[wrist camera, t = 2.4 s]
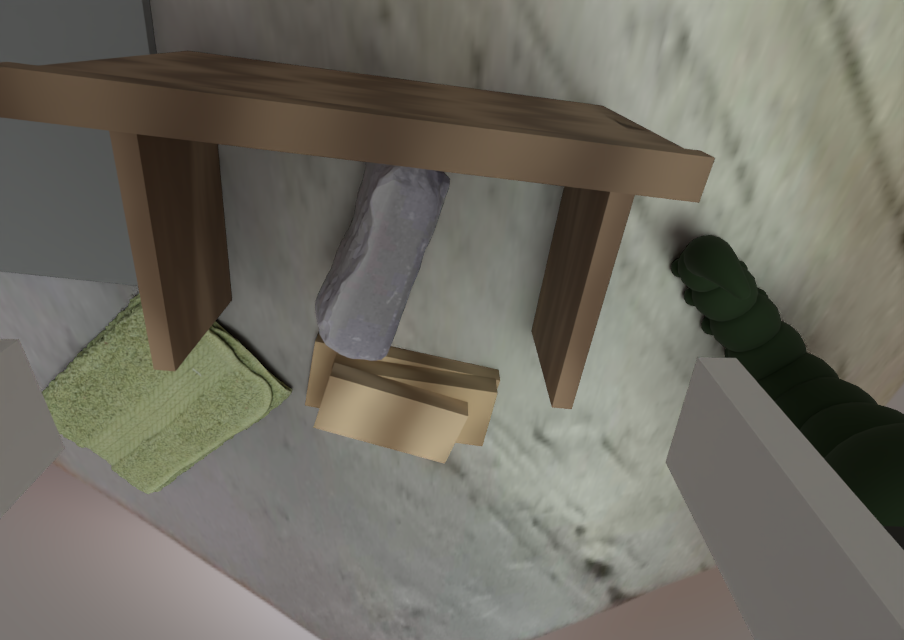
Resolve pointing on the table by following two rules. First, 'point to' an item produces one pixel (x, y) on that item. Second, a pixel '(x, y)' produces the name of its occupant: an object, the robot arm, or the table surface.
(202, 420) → the washcloth
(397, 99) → the walnut rack
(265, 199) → the table surface
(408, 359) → the offcut stack
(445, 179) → the stone block
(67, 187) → the charcoal panel
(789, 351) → the toy figurine
